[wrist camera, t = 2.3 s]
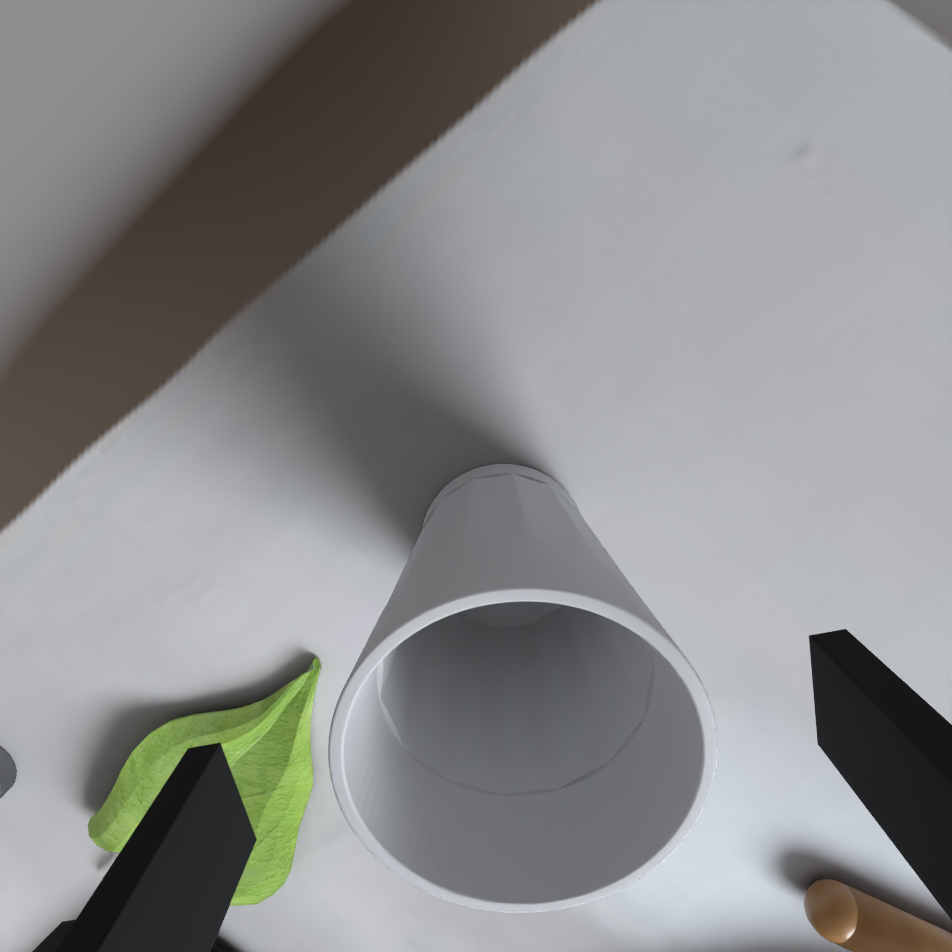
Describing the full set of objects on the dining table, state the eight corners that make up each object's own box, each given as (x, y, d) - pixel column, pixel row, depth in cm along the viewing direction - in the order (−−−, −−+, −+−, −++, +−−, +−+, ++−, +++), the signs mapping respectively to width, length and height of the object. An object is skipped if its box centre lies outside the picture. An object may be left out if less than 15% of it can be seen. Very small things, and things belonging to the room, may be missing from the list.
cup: (356, 533, 24) (246, 748, 13) (514, 397, 23) (548, 504, 11) (492, 670, 26) (501, 968, 15) (647, 551, 25) (795, 780, 13)
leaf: (42, 830, 29) (10, 869, 27) (269, 615, 26) (251, 642, 24) (194, 938, 30) (175, 982, 28) (424, 749, 27) (420, 784, 25)
